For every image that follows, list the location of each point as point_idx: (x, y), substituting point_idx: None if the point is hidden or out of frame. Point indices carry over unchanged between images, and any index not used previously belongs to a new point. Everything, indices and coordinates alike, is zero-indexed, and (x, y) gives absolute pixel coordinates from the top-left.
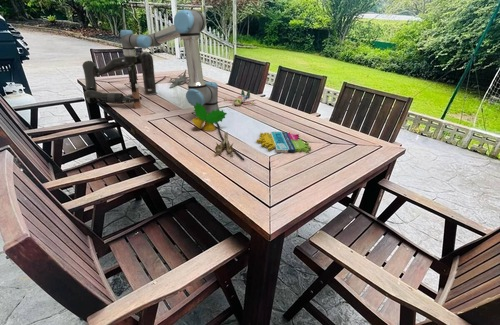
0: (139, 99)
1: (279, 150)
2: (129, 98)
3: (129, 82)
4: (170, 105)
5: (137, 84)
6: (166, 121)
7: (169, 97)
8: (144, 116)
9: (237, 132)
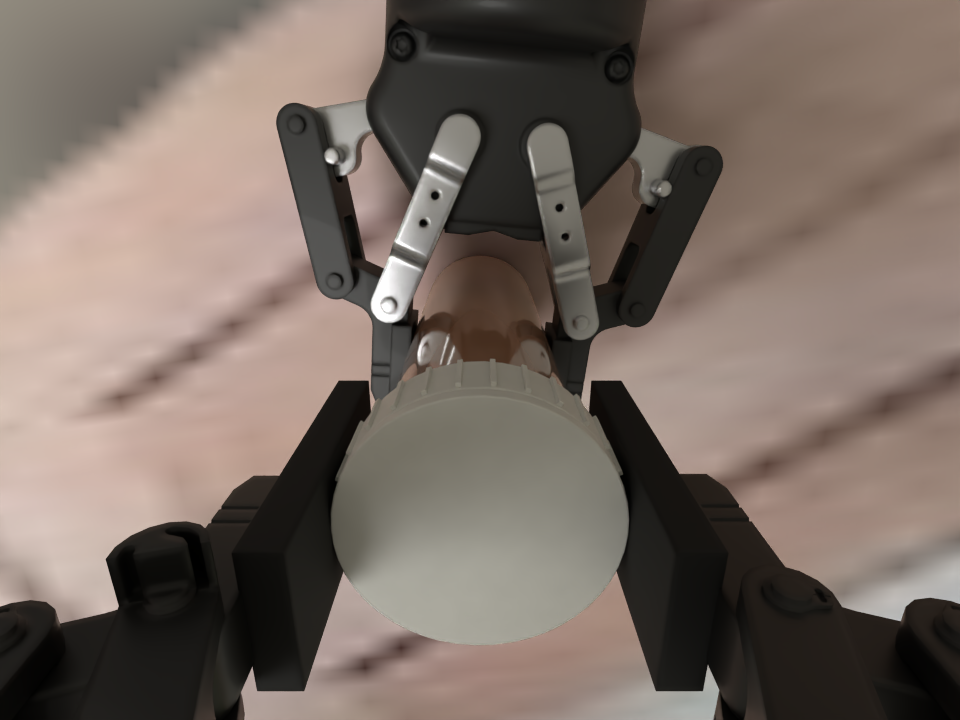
0: None
1: None
2: (393, 245)
3: (157, 528)
4: (569, 670)
5: (500, 617)
6: None
7: None
8: (101, 456)
9: None
